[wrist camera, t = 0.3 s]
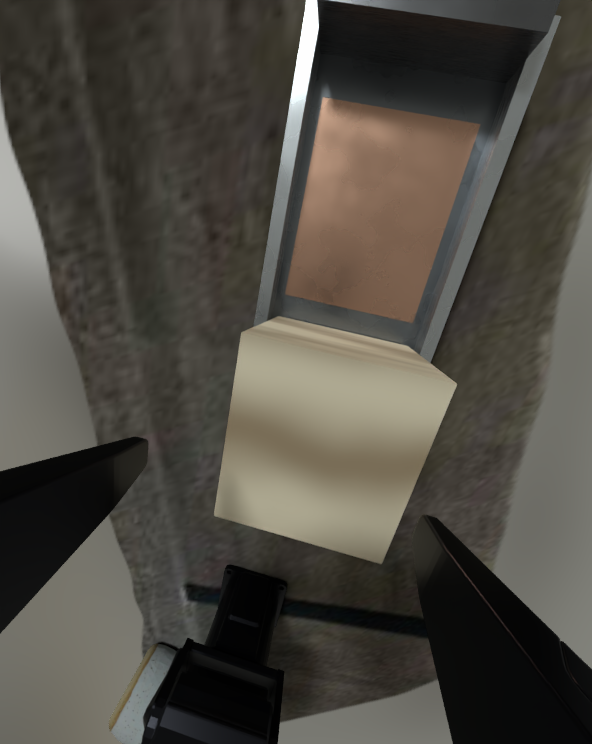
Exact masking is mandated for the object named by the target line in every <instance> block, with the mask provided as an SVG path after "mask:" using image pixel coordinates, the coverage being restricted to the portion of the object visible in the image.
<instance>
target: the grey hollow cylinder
mask: <svg viewBox="0 0 592 744" xmlns="http://www.w3.org/2000/svg"><path fill="white" fill-rule="evenodd" d="M176 652H177V651H175V650H174V649H172V648H170V647H168V646H165V645H162V644H154V645H152V646H151V647H150V648H149V650H148V651H147V653H146V655H145V657H144V658H143V660H142V662H141V664H140V666H139V667H138V669H137V671H136V673H135V675H134V676H133V678H132V680H131V682H130V683H129V685H128V687H127V689H126V690H125V692H124V694H123V696H122V698H121V699H120V701H119V703H118V705H117V707H116V709H115V711H114V712H113V714H112V716H111V717H110V720H109V729H110V731H111V732H112V733H113V735H114V736H115V737H116V739H117V740H118V741H120V742H121V743H122V744H141V742H142V736H143V732H144V724H143V716H144V713H145V711H146V708H147V707H148V705H149V703H150V701H151V700H152V698H153V696H154V695H155V693H156V691H157V690H158V688H159V686H160V684H161V683H162V681H163V679H164V678H165V676H166V674H167V672H168V670H169V668H170V666H171V663H172V661H173V659H174V657H175V654H176Z"/></svg>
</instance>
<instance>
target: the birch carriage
mask: <svg viewBox="0 0 592 744" xmlns="http://www.w3.org/2000/svg"><path fill="white" fill-rule="evenodd" d="M456 386H457V383H455V382H454V381H453V380H451V379H450V378H449V377H447V376H446V375H445V374H444V373H442V372H441V371H440V370H438V369H437V368H436V367H434V366H433V365H432V364H431V363H429V362H428V361H427V360H425V359H424V358H423V357H422V356H420V355H419V354H418V353H416V352H415V351H414V350H412V349H411V348H410V347H409V346H406V345H402V344H398V343H393V342H389V341H385V340H380V339H376V338H372V337H368V336H363V335H359V334H355V333H350V332H346V331H342V330H337V329H333V328H329V327H324V326H320V325H316V324H312V323H307V322H303V321H299V320H294V319H290V318H286V317H281V316H278V317H275V318H273V319H271V320H269V321H266V322H264V323H262V324H260V325H257V326H255V327H253V328H251V329H248V330H246V331H244V332H241V339H240V345H239V352H238V359H237V365H236V372H235V379H234V385H233V392H232V399H231V405H230V412H229V419H228V425H227V432H226V439H225V445H224V452H223V459H222V465H221V472H220V479H219V485H218V492H217V498H216V505H215V512H214V516H217V517H220V518H224V519H227V520H230V521H234V522H237V523H241V524H244V525H248V526H251V527H255V528H258V529H262V530H265V531H268V532H272V533H275V534H279V535H282V536H286V537H289V538H293V539H296V540H299V541H303V542H306V543H310V544H313V545H317V546H320V547H324V548H327V549H330V550H334V551H337V552H341V553H344V554H348V555H351V556H355V557H358V558H361V559H365V560H368V561H372V562H375V563H379V564H382V562H383V560H384V558H385V555H386V553H387V550H388V548H389V546H390V543H391V541H392V539H393V536H394V534H395V531H396V529H397V527H398V524H399V522H400V519H401V517H402V515H403V512H404V510H405V508H406V505H407V503H408V500H409V498H410V496H411V493H412V491H413V488H414V486H415V484H416V481H417V479H418V477H419V474H420V472H421V469H422V467H423V465H424V462H425V460H426V457H427V455H428V453H429V450H430V448H431V446H432V443H433V441H434V438H435V436H436V434H437V431H438V429H439V426H440V424H441V422H442V419H443V417H444V415H445V412H446V410H447V407H448V405H449V403H450V400H451V398H452V395H453V393H454V391H455V388H456Z"/></svg>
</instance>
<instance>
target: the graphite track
mask: <svg viewBox="0 0 592 744" xmlns="http://www.w3.org/2000/svg"><path fill="white" fill-rule="evenodd" d="M559 3H560V0H307V2H306V8H305V15H304V21H303V27H302V33H301V39H300V45H299V51H298V58H297V64H296V70H295V76H294V82H293V88H292V94H291V100H290V107H289V113H288V119H287V125H286V131H285V137H284V143H283V150H282V156H281V162H280V168H279V174H278V180H277V186H276V192H275V199H274V205H273V211H272V217H271V223H270V229H269V235H268V242H267V248H266V254H265V260H264V266H263V272H262V278H261V285H260V291H259V297H258V303H257V309H256V315H255V321H254V327H255V326H257V325H260V324H262V323H264V322H266V321H269V320H271V319H273V318H275V317H278V316H281V317H286V318H290V319H294V320H299V321H303V322H307V323H312V324H316V325H320V326H324V327H329V328H333V329H337V330H342V331H346V332H350V333H355V334H359V335H363V336H368V337H372V338H376V339H380V340H385V341H389V342H393V343H398V344H402V345H406V346H409V347H410V348H411V349H412V350H414V351H415V352H416V353H418V354H419V355H420V356H422V357H423V358H424V359H425V360H427V361H428V362H429V363H431V360H432V357H433V355H434V352H435V350H436V347H437V344H438V342H439V339H440V336H441V334H442V331H443V328H444V326H445V323H446V320H447V318H448V315H449V312H450V310H451V307H452V305H453V302H454V299H455V297H456V294H457V291H458V289H459V286H460V283H461V281H462V278H463V275H464V273H465V270H466V267H467V265H468V262H469V259H470V257H471V254H472V252H473V249H474V246H475V244H476V241H477V238H478V236H479V233H480V230H481V228H482V225H483V222H484V220H485V217H486V214H487V212H488V209H489V207H490V204H491V201H492V199H493V196H494V193H495V191H496V188H497V185H498V183H499V180H500V177H501V175H502V172H503V169H504V167H505V164H506V161H507V159H508V156H509V154H510V151H511V148H512V146H513V143H514V140H515V138H516V135H517V132H518V130H519V127H520V124H521V122H522V119H523V116H524V114H525V111H526V108H527V106H528V103H529V101H530V98H531V95H532V93H533V90H534V87H535V85H536V82H537V79H538V77H539V74H540V71H541V69H542V66H543V63H544V61H545V58H546V56H547V53H548V50H549V48H550V45H551V42H552V40H553V37H554V34H555V32H556V29H557V26H558V24H559V21H560V18H561V16H556V15H555V13H556V11H557V8H558V5H559Z"/></svg>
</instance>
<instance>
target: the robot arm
mask: <svg viewBox="0 0 592 744" xmlns="http://www.w3.org/2000/svg"><path fill="white" fill-rule="evenodd" d="M147 457H148V441H147V440H146V439H143V438H140V437H131V438H127V439H123V440H119V441H115V442H112V443H108V444H104V445H100V446H96V447H92V448H89V449H85V450H81V451H77V452H73V453H70V454H65V455H61V456H58V457H54V458H50V459H46V460H42V461H38V462H34V463H31V464H27V465H23V466H19V467H15V468H11V469H8V470H4V471H0V633H1V632H2V631H3V630H4V629H5V628H6V627H7V626H8V624H9V623H10V622H11V621H12V620H13V619H14V618H15V617H16V616H17V615H18V613H19V612H20V611H21V610H22V609H23V608H24V607H25V606H26V604H28V602H29V601H30V600H31V599H32V598H33V597H34V596H35V595H36V594H37V593H38V591H39V590H40V589H41V588H42V587H43V586H44V585H45V584H46V583H47V581H48V580H49V579H50V578H51V577H52V576H53V575H54V574H55V573H56V572H57V571H58V569H59V568H60V567H61V566H62V565H63V564H64V563H65V562H66V561H67V560H68V558H69V557H70V556H71V555H72V554H73V553H74V552H75V551H76V550H77V549H78V547H79V546H80V545H81V544H82V543H83V542H84V541H85V540H86V539H87V538H88V536H89V535H90V534H91V533H92V532H93V531H94V530H95V529H96V528H97V527H98V525H99V524H100V523H101V522H102V521H103V520H104V519H105V518H106V517H107V516H108V514H109V513H110V512H111V511H112V510H113V509H114V507H115V506H116V505H117V504H118V502H119V501H120V500H121V498H122V497H123V496H124V494H125V493H126V492H127V491H128V489H129V488H130V487H131V485H132V484H133V483H134V481H135V480H136V479H137V477H138V476H139V475H140V473H141V472H142V471H143V469H144V468H145V466H146V464H147ZM412 547H413V555H414V562H415V570H416V577H417V585H418V592H419V598H420V603H421V608H422V612H423V616H424V621H425V625H426V629H427V634H428V638H429V642H430V647H431V651H432V655H433V660H434V664H435V668H436V673H437V677H438V681H439V685H440V690H441V694H442V698H443V702H444V707H445V711H446V716H447V720H448V724H449V729H450V733H451V737H452V741H453V744H592V669H591V668H590V667H589V666H588V665H587V664H586V663H585V662H583V661H582V659H580V658H579V657H578V656H577V655H576V654H575V653H574V652H573V651H572V650H571V649H570V648H569V647H568V646H567V645H566V644H565V643H564V642H562V641H560V639H559V637H558V636H557V635H556V634H555V633H554V632H553V631H552V630H551V629H550V628H549V627H548V626H547V625H546V624H545V623H544V622H542V621H541V619H539V617H537V616H536V615H535V614H534V613H533V612H532V611H531V610H530V609H529V608H528V607H527V606H526V605H525V604H524V603H523V602H522V601H521V600H520V599H519V598H518V597H517V596H516V595H515V594H514V593H513V592H512V591H511V590H510V589H509V588H508V587H507V586H506V585H505V584H504V583H503V582H502V581H501V580H500V579H499V578H497V576H496V575H495V574H494V573H493V572H491V571H490V570H489V569H488V568H487V567H486V566H485V565H484V564H483V563H482V562H481V561H480V560H479V559H478V558H477V557H476V556H475V555H474V554H473V553H472V552H471V551H470V550H469V549H468V548H467V547H466V546H465V545H464V544H463V543H462V542H461V541H460V540H459V539H458V538H457V537H456V536H455V535H454V534H453V533H452V532H451V531H450V530H449V529H447V528H446V527H445V526H444V525H443V524H442V523H441V522H440V521H439V520H438V519H437V518H435V517H432V516H428V515H421V516H420V518H419V521H418V523H417V525H416V528H415V530H414V532H413V535H412ZM286 590H287V583H286V582H285V581H283V580H279V579H276V578H273V577H269V576H266V575H263V574H259V573H256V572H253V571H249V570H246V569H243V568H239V567H236V566H233V565H227V566H226V568H225V571H224V576H223V582H222V587H221V593H220V598H219V604H218V610H217V612H216V615H215V618H214V621H213V623H212V626H211V629H210V631H209V634H208V637H207V639H206V642H205V645H202V644H199V643H196V642H193V641H194V640H192V639H189V638H187V640H186V642H185V645H184V647H183V648H180V649H178V650H177V652H176V654H175V657H174V659H173V661H172V663H171V666H170V668H169V670H168V672H167V674H166V676H165V678H164V679H163V681H162V683H161V684H160V686H159V688H158V690H157V691H156V693H155V695H154V696H153V698H152V700H151V701H150V703H149V705H148V707H147V708H146V711H145V713H144V716H143V724H144V732H143V736H142V742H141V744H277V743H278V734H279V724H280V713H281V702H282V691H283V680H284V671H283V670H280V669H278V670H275V669H272V668H269V667H266V666H267V661H268V656H269V650H270V645H271V639H272V634H273V629H274V627H276V625H277V621H278V618H279V614H280V611H281V607H282V604H283V600H284V597H285V593H286Z"/></svg>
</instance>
